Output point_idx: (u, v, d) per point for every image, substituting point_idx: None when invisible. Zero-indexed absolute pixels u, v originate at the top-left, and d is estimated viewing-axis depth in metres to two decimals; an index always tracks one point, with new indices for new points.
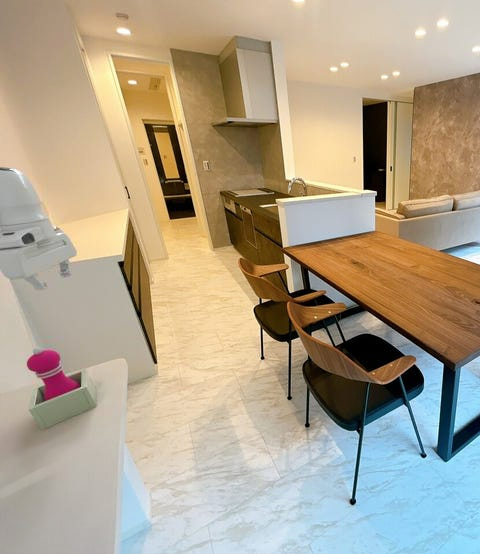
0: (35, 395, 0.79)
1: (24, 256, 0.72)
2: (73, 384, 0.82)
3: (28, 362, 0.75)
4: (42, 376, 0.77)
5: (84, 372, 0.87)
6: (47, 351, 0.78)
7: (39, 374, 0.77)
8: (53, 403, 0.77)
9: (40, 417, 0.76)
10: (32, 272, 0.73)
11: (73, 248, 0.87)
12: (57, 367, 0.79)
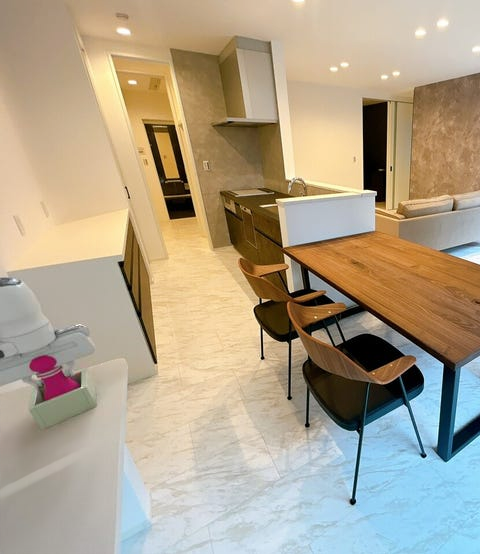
0: (35, 395, 0.79)
1: None
2: (73, 384, 0.82)
3: None
4: (42, 376, 0.77)
5: (84, 372, 0.87)
6: None
7: (39, 374, 0.77)
8: (53, 403, 0.77)
9: (40, 417, 0.76)
10: (4, 382, 0.73)
11: (88, 347, 0.82)
12: (57, 367, 0.79)
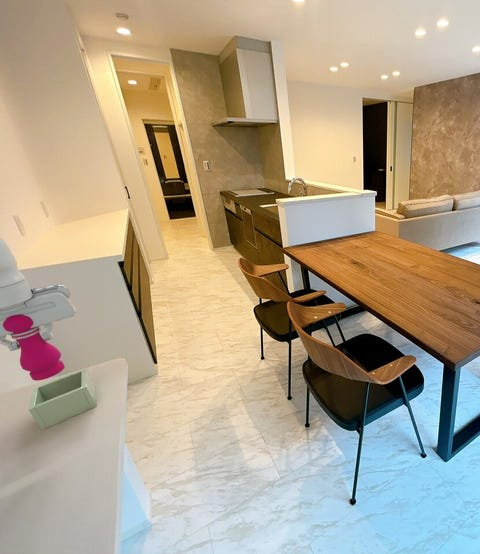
0: (35, 395, 0.79)
1: None
2: (52, 348, 0.78)
3: None
4: (17, 337, 0.72)
5: (84, 372, 0.87)
6: None
7: (14, 334, 0.72)
8: (53, 403, 0.77)
9: (40, 417, 0.76)
10: None
11: (68, 309, 0.77)
12: (34, 328, 0.74)
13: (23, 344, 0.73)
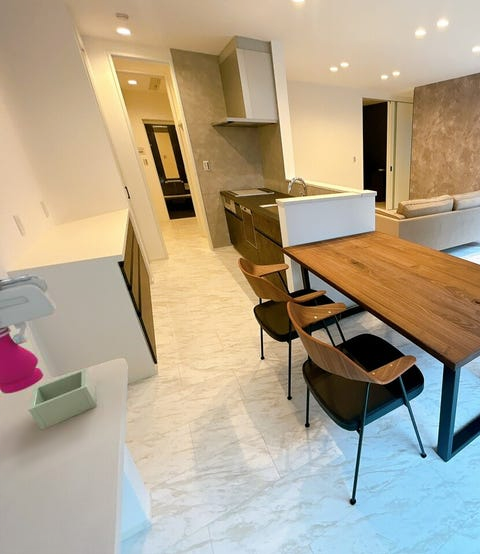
0: (35, 395, 0.79)
1: None
2: (25, 353, 0.63)
3: None
4: None
5: (84, 372, 0.87)
6: None
7: None
8: (53, 403, 0.77)
9: (40, 417, 0.76)
10: None
11: (45, 305, 0.63)
12: (1, 329, 0.60)
13: None
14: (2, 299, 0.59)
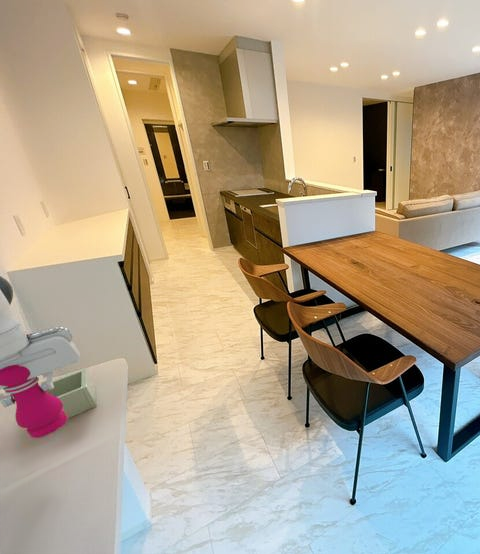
0: None
1: None
2: (52, 400, 0.67)
3: None
4: (11, 391, 0.62)
5: (84, 372, 0.87)
6: None
7: (8, 389, 0.62)
8: None
9: None
10: None
11: (70, 355, 0.67)
12: (31, 379, 0.64)
13: (19, 398, 0.63)
14: (32, 352, 0.63)
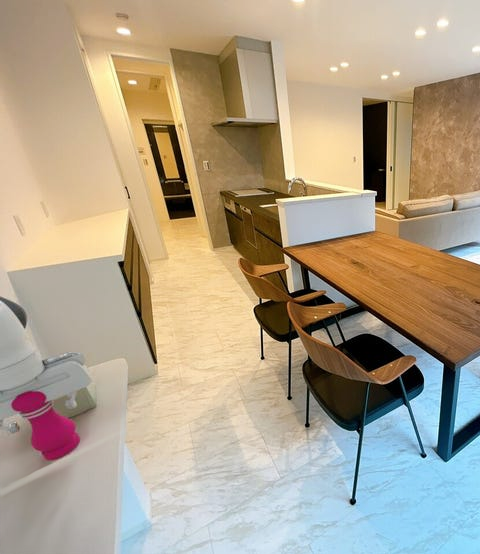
0: None
1: None
2: (66, 423, 0.70)
3: None
4: (28, 416, 0.64)
5: None
6: None
7: (24, 414, 0.64)
8: (53, 403, 0.77)
9: None
10: None
11: (83, 378, 0.69)
12: (46, 404, 0.66)
13: (34, 423, 0.66)
14: (47, 377, 0.65)
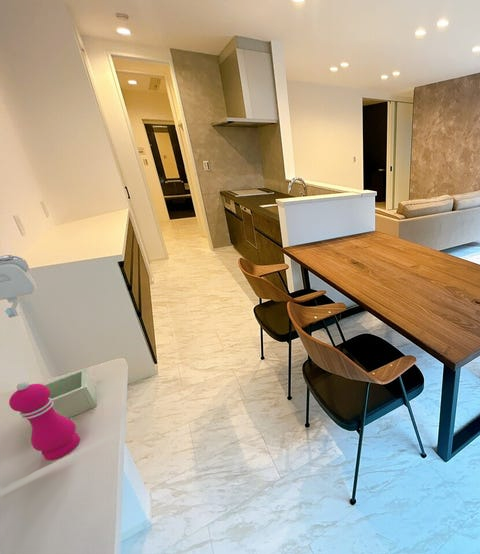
0: None
1: None
2: (66, 423, 0.70)
3: (11, 400, 0.63)
4: (28, 416, 0.64)
5: (84, 372, 0.87)
6: (34, 386, 0.65)
7: (24, 414, 0.64)
8: None
9: None
10: None
11: (25, 284, 0.67)
12: (46, 404, 0.66)
13: (34, 423, 0.66)
14: None
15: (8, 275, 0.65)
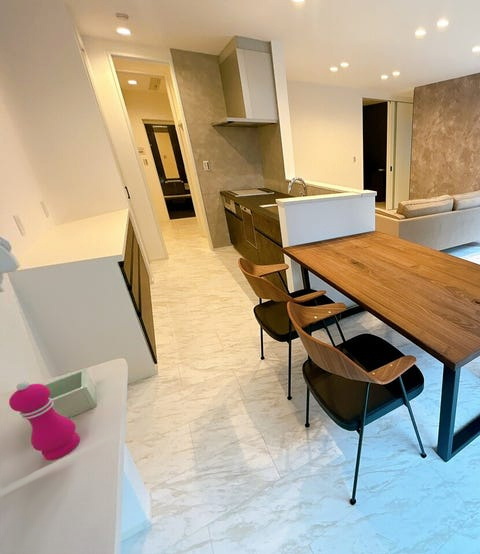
0: None
1: None
2: (66, 423, 0.70)
3: (11, 400, 0.63)
4: (28, 416, 0.64)
5: (84, 372, 0.87)
6: (34, 386, 0.65)
7: (24, 414, 0.64)
8: None
9: None
10: None
11: (9, 263, 0.74)
12: (46, 404, 0.66)
13: (34, 423, 0.66)
14: None
15: None
